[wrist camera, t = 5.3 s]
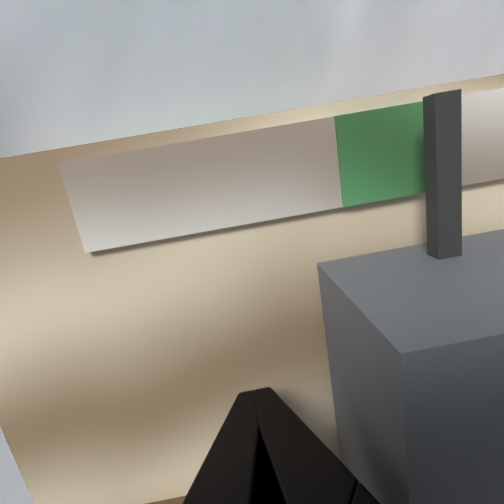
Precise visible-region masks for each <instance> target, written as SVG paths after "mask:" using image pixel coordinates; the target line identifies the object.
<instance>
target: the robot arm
mask: <svg viewBox="0 0 504 504" xmlns="http://www.w3.org/2000/svg"><path fill="white" fill-rule="evenodd" d="M182 504H381V503H380V502H379V501H378V500H377V499H376V498H375V497H374V496H373V495H372V494H371V493H370V492H369V491H368V489H367V488H366V487H365V486H364V485H363V484H362V483H360V482H359V481H358V479H357V478H356V477H355V476H354V475H353V474H352V473H351V472H350V471H349V470H348V468H347V467H346V466H345V465H344V464H343V463H342V462H341V461H340V460H339V459H338V458H337V457H336V456H335V455H334V454H333V453H332V451H331V450H330V449H329V448H328V447H327V446H326V445H325V444H324V443H323V442H322V441H321V440H320V439H319V438H318V437H317V436H316V435H315V433H314V432H313V431H312V430H311V429H310V428H309V427H308V426H307V425H306V424H305V423H304V422H303V421H302V420H301V419H300V418H299V416H298V415H297V414H296V413H295V412H294V411H293V410H292V409H291V408H290V407H289V406H288V405H287V404H286V403H285V402H284V401H283V399H282V398H281V397H280V396H279V395H278V394H277V393H276V392H275V391H274V390H273V389H272V388H271V387H264V388H259V389H255V390H249V391H244V392H240V393H239V394H238V395H237V397H236V399H235V401H234V403H233V405H232V407H231V409H230V411H229V413H228V415H227V417H226V419H225V421H224V422H223V424H222V426H221V428H220V430H219V432H218V434H217V436H216V438H215V440H214V442H213V444H212V446H211V448H210V450H209V452H208V454H207V456H206V458H205V460H204V462H203V463H202V465H201V467H200V469H199V471H198V473H197V475H196V477H195V479H194V481H193V483H192V485H191V487H190V489H189V491H188V493H187V495H186V497H185V499H184V501H183V502H182Z"/></svg>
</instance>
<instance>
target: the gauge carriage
mask: <svg viewBox="0 0 504 504" xmlns="http://www.w3.org/2000/svg"><path fill="white" fill-rule="evenodd" d="M423 129H424V161H425V193H426V226H427V243H424V244H418V245H413V246H407V247H402V248H396V249H391V250H385V251H380V252H374V253H369V254H364V255H358V256H353V257H347V258H342V259H336V260H331V261H325V262H320V263H317V270H318V278H319V286H320V295H321V303H322V311H323V319H324V328H325V336H326V344H327V352H328V361H329V369H330V377H331V386H332V394H333V402H334V410H335V419H336V427H337V435H338V443H339V452H340V460H341V462H342V463H343V464H344V465H345V466H346V467H347V468H348V470H349V471H350V472H351V473H352V474H353V475H354V476H355V477H356V478H357V479H358V481H359V482H360V483H362V484H363V485H364V486H365V487H366V488H367V489H368V491H369V492H370V493H371V494H372V495H373V496H374V497H375V498H376V499H377V500H378V501H379V502H380V503H381V504H504V229H500V230H495V231H489V232H484V233H478V234H473V235H467V236H462V104H461V89H457V90H451V91H445V92H439V93H434V94H431V95H428V96H425V97H423Z"/></svg>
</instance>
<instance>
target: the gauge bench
mask: <svg viewBox="0 0 504 504" xmlns="http://www.w3.org/2000/svg"><path fill="white" fill-rule="evenodd" d="M457 89H461V104H462V236H467V235H473V234H478V233H484V232H489V231H495V230H500V229H504V74H501V75H495V76H489V77H483V78H477V79H471V80H465V81H459V82H453V83H448V84H442V85H436V86H430V87H424V88H418V89H412V90H406V91H400V92H394V93H388V94H382V95H376V96H370V97H364V98H358V99H352V100H346V101H340V102H334V103H328V104H322V105H316V106H310V107H304V108H298V109H292V110H287V111H281V112H275V113H269V114H263V115H257V116H251V117H245V118H239V119H233V120H227V121H221V122H215V123H209V124H203V125H197V126H191V127H185V128H179V129H173V130H167V131H161V132H155V133H149V134H143V135H137V136H131V137H125V138H120V139H114V140H108V141H102V142H96V143H90V144H84V145H78V146H72V147H66V148H60V149H54V150H48V151H42V152H36V153H30V154H24V155H18V156H12V157H6V158H0V426H1V429H2V431H3V433H4V435H5V438H6V440H7V442H8V445H9V447H10V449H11V452H12V454H13V456H14V458H15V461H16V463H17V465H18V468H19V470H20V472H21V475H22V477H23V479H24V481H25V484H26V486H27V488H28V491H29V493H30V495H31V498H32V500H33V502H34V504H182V502H183V501H184V499H185V497H186V495H187V493H188V491H189V489H190V487H191V485H192V483H193V481H194V479H195V477H196V475H197V473H198V471H199V469H200V467H201V465H202V463H203V462H204V460H205V458H206V456H207V454H208V452H209V450H210V448H211V446H212V444H213V442H214V440H215V438H216V436H217V434H218V432H219V430H220V428H221V426H222V424H223V422H224V421H225V419H226V417H227V415H228V413H229V411H230V409H231V407H232V405H233V403H234V401H235V399H236V397H237V395H238V394H239V393H240V392H244V391H249V390H255V389H259V388H264V387H271V388H272V389H273V390H274V391H275V392H276V393H277V394H278V395H279V396H280V397H281V398H282V399H283V401H284V402H285V403H286V404H287V405H288V406H289V407H290V408H291V409H292V410H293V411H294V412H295V413H296V414H297V415H298V416H299V418H300V419H301V420H302V421H303V422H304V423H305V424H306V425H307V426H308V427H309V428H310V429H311V430H312V431H313V432H314V433H315V435H316V436H317V437H318V438H319V439H320V440H321V441H322V442H323V443H324V444H325V445H326V446H327V447H328V448H329V449H330V450H331V451H332V453H333V454H334V455H335V456H336V457H337V458H338V459H339V460H340V452H339V443H338V435H337V427H336V419H335V410H334V402H333V394H332V386H331V377H330V369H329V361H328V352H327V344H326V336H325V328H324V319H323V311H322V303H321V295H320V286H319V278H318V270H317V263H320V262H325V261H331V260H336V259H342V258H347V257H353V256H358V255H364V254H369V253H374V252H380V251H385V250H391V249H396V248H402V247H407V246H413V245H418V244H424V243H427V226H426V193H425V161H424V129H423V97H425V96H428V95H431V94H434V93H439V92H445V91H451V90H457ZM340 461H341V460H340Z"/></svg>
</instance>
